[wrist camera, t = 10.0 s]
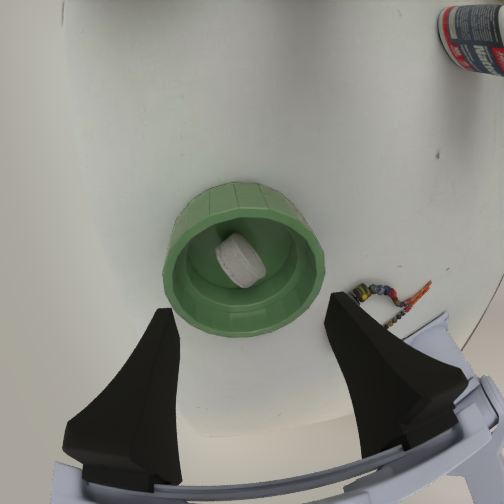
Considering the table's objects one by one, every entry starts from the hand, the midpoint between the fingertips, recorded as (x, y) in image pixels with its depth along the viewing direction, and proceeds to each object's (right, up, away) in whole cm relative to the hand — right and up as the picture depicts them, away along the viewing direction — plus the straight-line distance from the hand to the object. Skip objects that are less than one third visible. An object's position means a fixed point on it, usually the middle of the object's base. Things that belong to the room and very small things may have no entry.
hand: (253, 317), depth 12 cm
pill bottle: (+15, +18, -2) cm, 24 cm away
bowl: (-1, +3, +5) cm, 6 cm away
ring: (-1, +3, +5) cm, 6 cm away
